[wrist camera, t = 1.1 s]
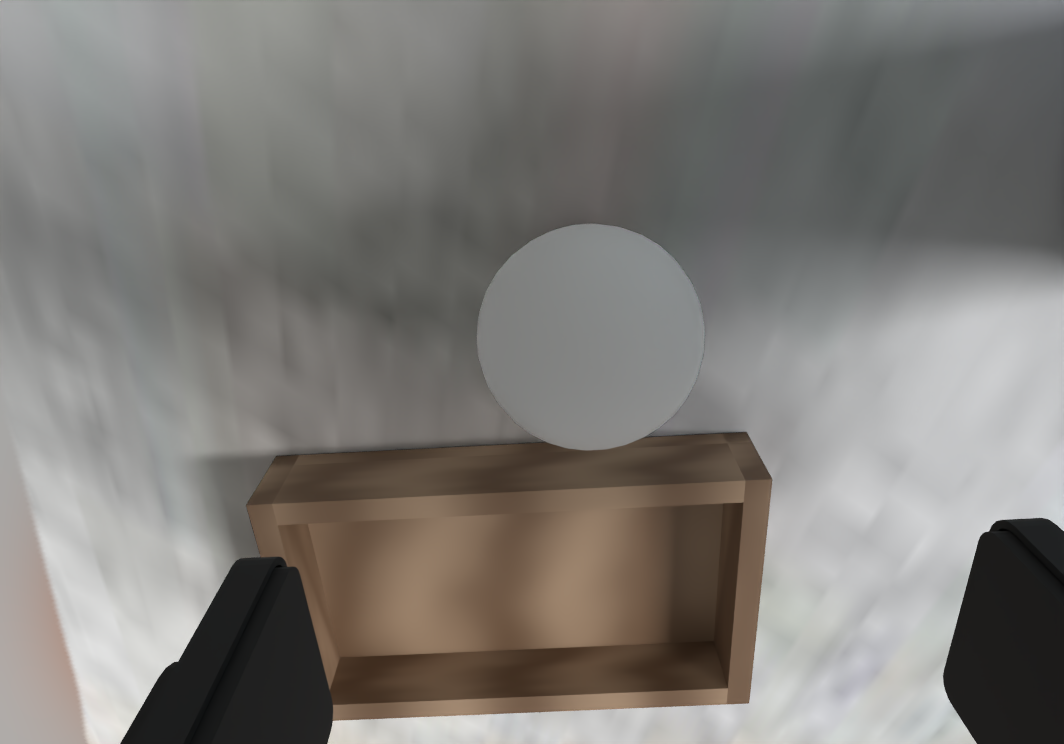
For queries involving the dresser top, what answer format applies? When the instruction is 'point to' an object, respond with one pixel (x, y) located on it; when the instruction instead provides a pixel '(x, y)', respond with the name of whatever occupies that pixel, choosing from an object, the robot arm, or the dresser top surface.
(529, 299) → the lightbulb
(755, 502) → the walnut tray
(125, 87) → the dresser top surface
